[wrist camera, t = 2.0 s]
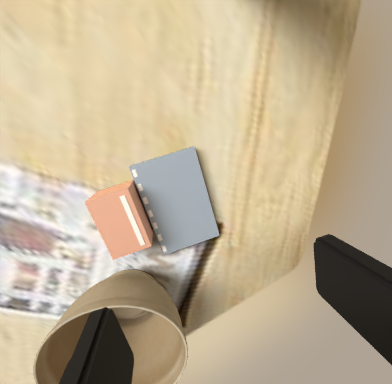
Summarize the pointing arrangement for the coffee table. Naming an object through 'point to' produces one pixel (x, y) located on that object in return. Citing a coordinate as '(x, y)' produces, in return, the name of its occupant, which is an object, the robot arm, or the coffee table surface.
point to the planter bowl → (131, 325)
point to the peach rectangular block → (121, 219)
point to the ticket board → (176, 199)
